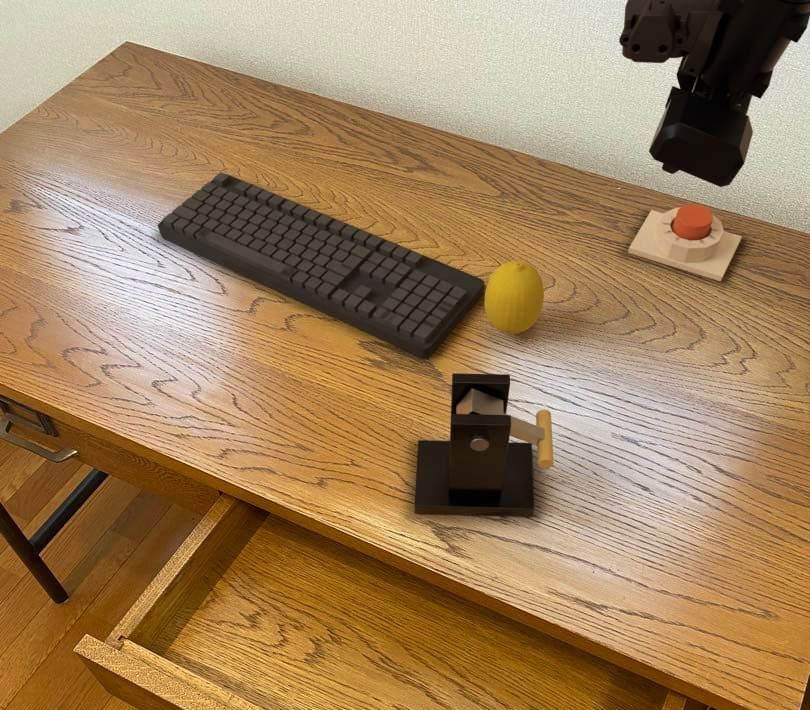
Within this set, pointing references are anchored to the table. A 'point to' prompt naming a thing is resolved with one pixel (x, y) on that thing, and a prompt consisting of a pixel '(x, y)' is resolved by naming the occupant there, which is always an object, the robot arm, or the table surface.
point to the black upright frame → (476, 460)
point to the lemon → (514, 297)
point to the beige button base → (685, 246)
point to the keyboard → (325, 263)
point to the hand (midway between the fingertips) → (668, 169)
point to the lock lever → (514, 423)
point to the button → (692, 222)
